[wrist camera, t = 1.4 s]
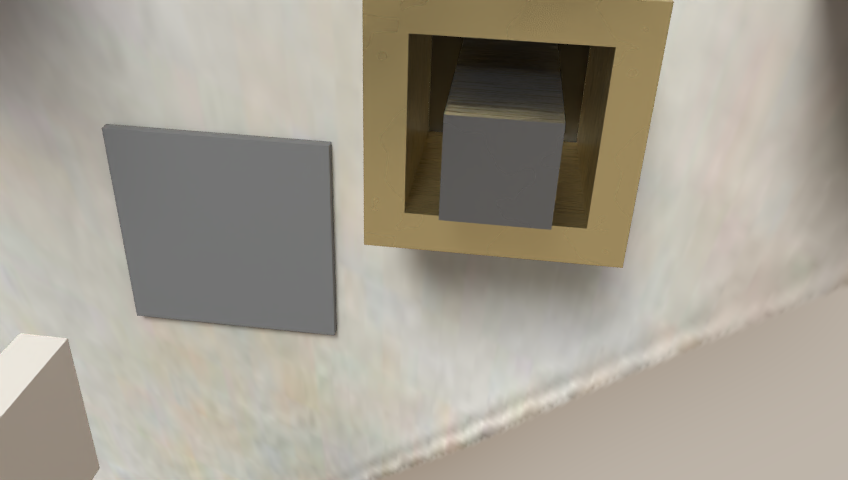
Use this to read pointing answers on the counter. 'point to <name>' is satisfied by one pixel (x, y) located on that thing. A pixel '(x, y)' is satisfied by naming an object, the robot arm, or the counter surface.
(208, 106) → the counter surface
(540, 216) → the post
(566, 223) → the collar
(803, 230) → the counter surface
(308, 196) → the mat
